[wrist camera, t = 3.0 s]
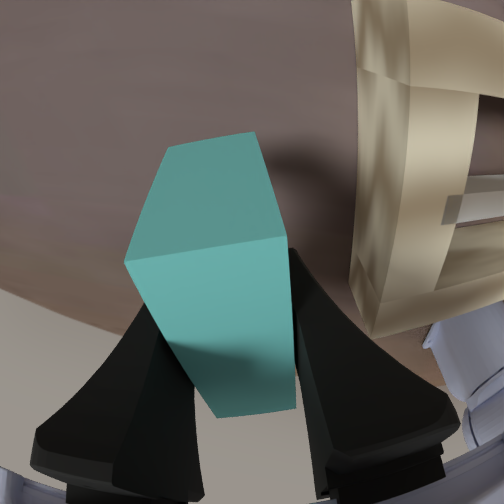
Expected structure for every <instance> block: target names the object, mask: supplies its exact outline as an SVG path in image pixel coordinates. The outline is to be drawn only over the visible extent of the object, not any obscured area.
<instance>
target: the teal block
mask: <svg viewBox="0 0 504 504" xmlns="http://www.w3.org/2000/svg"><path fill="white" fill-rule="evenodd" d="M124 263H125V265H126V268H127V270H128V272H129V273H130V275H131V277H132V279H133V281H134V283H135V285H136V287H137V289H138V291H139V293H140V295H141V297H142V298H143V300H144V302H145V304H146V306H147V308H148V309H149V311H150V313H151V315H152V317H153V318H154V320H155V322H156V324H157V325H158V327H159V329H160V331H161V332H162V334H163V336H164V337H165V339H166V341H167V343H168V344H169V346H170V348H171V349H172V351H173V353H174V354H175V356H176V357H177V359H178V361H179V362H180V364H181V365H182V367H183V369H184V370H185V372H186V373H187V375H188V376H189V378H190V379H191V381H192V383H193V384H194V386H195V387H196V389H197V390H198V392H199V393H200V394H201V396H202V397H203V399H204V400H205V402H206V403H207V405H208V406H209V408H210V409H211V411H212V412H213V413H214V415H215V416H216V418H226V417H237V416H245V415H254V414H262V413H270V412H276V411H283V410H289V409H295V408H296V387H295V361H294V340H293V321H292V303H291V287H290V272H289V258H288V244H287V234H286V231H285V228H284V224H283V221H282V218H281V214H280V211H279V208H278V204H277V201H276V198H275V195H274V191H273V188H272V185H271V182H270V178H269V175H268V172H267V169H266V166H265V163H264V159H263V156H262V153H261V150H260V147H259V144H258V141H257V138H256V135H255V132H248V133H241V134H235V135H229V136H223V137H217V138H212V139H206V140H201V141H196V142H191V143H186V144H181V145H177V146H172V147H168V149H167V151H166V154H165V156H164V158H163V160H162V163H161V165H160V167H159V170H158V172H157V174H156V177H155V179H154V181H153V184H152V186H151V189H150V191H149V194H148V196H147V199H146V201H145V204H144V207H143V209H142V212H141V214H140V217H139V220H138V222H137V225H136V228H135V231H134V233H133V236H132V239H131V242H130V245H129V248H128V251H127V254H126V257H125V260H124Z"/></svg>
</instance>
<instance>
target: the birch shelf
mask: <svg viewBox="0 0 504 504" xmlns="http://www.w3.org/2000/svg"><path fill="white" fill-rule="evenodd" d="M351 4H352V14H353V24H354V35H355V48H356V65H357V89H358V162H357V187H356V205H355V220H354V232H353V244H352V254H351V264H350V273H349V281H348V284H349V286H350V289H351V291H352V294H353V296H354V299H355V301H356V304H357V306H358V309H359V311H360V314H361V317H362V319H363V322H364V325H365V327H366V330H367V333H368V335H369V338H370V339H371V340H372V339H376V338H380V337H384V336H388V335H392V334H396V333H400V332H404V331H408V330H411V329H415V328H419V327H422V326H426V325H429V324H432V323H436V322H439V321H443V320H446V319H449V318H452V317H455V316H458V315H462V314H465V313H468V312H471V311H474V310H476V309H479V308H482V307H485V306H488V305H491V304H493V303H496V302H499V301H501V300H504V220H503V221H497V222H491V223H485V224H479V225H473V226H467V227H461V228H455V225H456V223H460V222H467V221H473V220H480V219H486V218H492V217H499V216H504V175H479V176H468V171H469V166H470V161H471V155H472V149H473V143H474V136H475V129H476V121H477V112H478V102H479V94H484V95H489V96H495V97H500V98H504V22H502V21H500V20H497V19H495V18H492V17H490V16H487V15H485V14H482V13H479V12H476V11H473V10H470V9H467V8H464V7H461V6H458V5H455V4H451V3H448V2H444V1H440V0H353V1H351Z"/></svg>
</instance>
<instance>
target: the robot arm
mask: <svg viewBox="0 0 504 504" xmlns="http://www.w3.org/2000/svg"><path fill="white" fill-rule="evenodd" d="M288 258H289V272H290V287H291V303H292V321H293V340H294V361H295V365H296V369H297V373H298V377H299V381H300V386H301V392H302V398H303V404H304V411H305V417H306V424H307V431H308V438H309V445H310V452H311V459H312V467H313V475H314V484H315V492H316V498H317V500H319V499H324V498H329V497H330V500H327V501H321V502H316V503H310V504H504V302H503V301H502V300H501V301H499V302H496V303H493V304H491V305H488V306H485V307H482V308H479V309H476V310H474V311H471V312H468V313H465V314H462V315H458V316H455V317H452V318H449V319H446V320H443V321H439V322H436V323H433V325H432V327H431V329H430V331H429V333H428V335H427V337H426V339H425V341H424V343H423V345H422V346H423V348H424V349H426V348H429V347H431V350H432V352H433V354H434V356H435V359H436V361H437V363H438V366H439V368H440V370H441V373H442V375H443V377H444V380H445V382H446V385H447V387H448V389H449V391H450V392H451V394H452V395H453V396H454V397H456V398H457V399H459V400H460V401H463V402H466V403H467V406H468V407H467V408H466V409H465V411H464V415H463V420H462V430H463V435H464V439H465V442H466V444H467V446H468V448H469V450H470V451H469V452H467V453H465V454H463V455H461V456H459V457H457V458H455V459H453V460H451V461H448V462H446V463H444V464H443V463H442V460H441V456H440V455H442V454H443V453H444V451H443V447H442V444H441V442H442V441H444V440H445V439H447V438H448V437H449V436H451V435H452V434H453V433H455V432H456V431H457V430H458V428H459V426H460V424H461V423H460V421H459V418H458V415H457V412H456V410H455V408H454V406H453V404H452V402H451V400H450V398H449V397H448V395H447V394H446V393H445V392H443V391H442V390H440V389H438V388H437V387H435V386H433V385H432V384H430V383H428V382H427V381H425V380H424V379H422V378H421V377H419V376H418V375H416V374H415V373H413V372H412V371H410V370H409V369H408V368H406V367H405V366H403V365H402V364H401V363H399V362H398V361H397V360H395V359H394V358H393V357H392V356H390V355H389V354H388V353H387V352H385V351H384V350H383V349H382V348H380V347H379V346H378V345H377V344H375V343H374V342H373V341H372V340H371V339H370V338H369V337H368V336H366V335H365V334H364V333H363V332H362V331H361V330H360V329H359V328H358V327H357V326H356V325H355V324H354V323H353V322H352V321H351V320H350V319H349V318H348V317H347V316H346V315H345V314H344V313H343V312H342V311H341V310H340V308H339V307H338V306H337V305H336V304H335V303H334V302H333V301H332V299H331V298H330V297H329V296H328V295H327V293H326V292H325V291H324V290H323V288H322V287H321V286H320V285H319V283H318V282H317V281H316V280H315V278H314V277H313V276H312V274H311V273H310V271H309V270H308V269H307V267H306V266H305V264H304V263H303V261H302V259H301V258H300V256H299V255H298V253H297V251H296V250H295V249H294V248H288ZM194 388H195V386H194V384H193V383H192V381H191V379H190V378H189V376H188V375H187V373H186V372H185V370H184V369H183V367H182V365H181V364H180V362H179V361H178V359H177V357H176V356H175V354H174V353H173V351H172V349H171V348H170V346H169V344H168V343H167V341H166V339H165V337H164V336H163V334H162V332H161V331H160V329H159V327H158V325H157V324H156V322H155V320H154V318H153V317H152V315H151V313H150V311H149V309H148V308H147V306H146V304H145V302H144V304H143V306H142V307H141V309H140V311H139V312H138V314H137V316H136V317H135V319H134V320H133V322H132V323H131V325H130V326H129V328H128V329H127V331H126V332H125V334H124V336H123V337H122V339H121V340H120V341H119V343H118V344H117V346H116V347H115V348H114V350H113V351H112V353H111V354H110V355H109V356H108V358H107V359H106V360H105V362H104V363H103V364H102V365H101V367H100V368H99V369H98V370H97V371H96V372H95V373H94V374H93V376H92V377H91V378H90V379H89V380H88V381H87V382H86V384H85V385H84V386H83V387H82V388H81V389H80V390H79V391H78V392H77V393H76V394H75V395H74V396H73V397H72V398H71V399H70V400H69V401H68V402H67V403H66V404H65V405H64V406H63V407H62V408H61V409H59V410H58V411H57V412H56V413H55V414H54V415H52V416H51V417H50V418H49V419H48V420H46V421H45V422H44V423H43V424H42V425H40V426H39V427H38V428H37V429H36V432H35V438H34V443H33V448H32V454H31V460H30V466H31V467H32V468H33V469H34V470H36V471H38V472H40V473H42V474H45V475H47V476H49V477H52V478H55V479H57V480H59V481H62V482H65V483H67V489H66V491H63V490H60V489H56V488H53V487H50V486H47V485H44V484H41V483H38V482H35V481H32V480H30V479H27V478H24V477H23V476H21V475H19V474H17V473H14V472H12V471H10V470H8V469H5V468H3V467H1V466H0V504H188V502H198V501H200V500H201V499H202V498H203V497H204V495H205V494H204V488H203V482H202V476H201V470H200V463H199V454H198V446H197V435H196V422H195V404H194Z"/></svg>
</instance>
